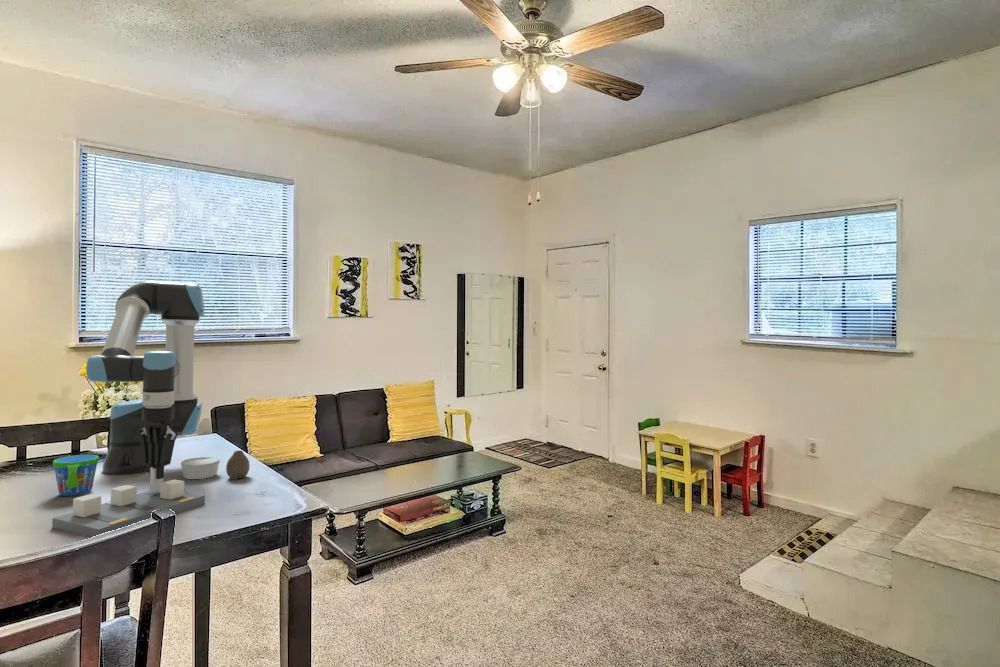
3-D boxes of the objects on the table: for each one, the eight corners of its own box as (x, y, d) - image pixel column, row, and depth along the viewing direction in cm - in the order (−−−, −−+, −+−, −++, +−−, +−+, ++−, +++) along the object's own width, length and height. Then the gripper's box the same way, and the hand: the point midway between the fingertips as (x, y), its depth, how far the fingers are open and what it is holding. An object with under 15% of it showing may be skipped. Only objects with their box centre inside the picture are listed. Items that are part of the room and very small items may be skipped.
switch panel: (52, 527, 129) (52, 517, 129) (161, 495, 155) (162, 486, 155) (98, 539, 123) (99, 528, 123) (204, 503, 149) (204, 494, 149)
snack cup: (61, 487, 160) (61, 453, 160) (103, 483, 164) (104, 451, 164) (43, 503, 146) (44, 466, 146) (91, 499, 150) (91, 463, 150)
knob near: (72, 514, 131) (73, 498, 131) (90, 509, 134) (90, 494, 134) (83, 517, 129) (83, 501, 129) (100, 512, 133) (101, 496, 133)
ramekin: (213, 470, 183) (213, 454, 183) (224, 477, 175) (224, 461, 175) (176, 475, 176) (176, 459, 175) (185, 483, 168) (186, 466, 168)
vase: (231, 474, 178) (231, 448, 178) (252, 474, 179) (253, 449, 179) (222, 480, 171) (223, 453, 171) (244, 480, 172) (245, 453, 172)
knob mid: (110, 504, 139) (111, 488, 139) (126, 499, 143) (126, 484, 143) (121, 506, 138) (121, 490, 138) (136, 501, 141) (136, 486, 141)
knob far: (160, 497, 145) (160, 483, 145) (173, 493, 149) (174, 479, 149) (170, 499, 144) (170, 484, 144) (184, 495, 148) (184, 481, 148)
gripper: (128, 405, 148) (126, 490, 148) (162, 410, 143) (160, 496, 144) (154, 402, 155) (152, 482, 155) (187, 406, 150) (185, 489, 151)
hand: (156, 489), depth 149 cm, fingers closed
